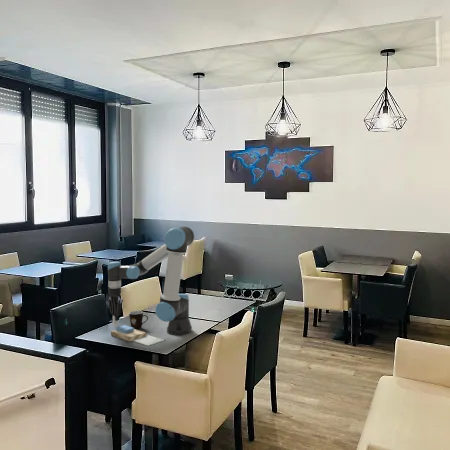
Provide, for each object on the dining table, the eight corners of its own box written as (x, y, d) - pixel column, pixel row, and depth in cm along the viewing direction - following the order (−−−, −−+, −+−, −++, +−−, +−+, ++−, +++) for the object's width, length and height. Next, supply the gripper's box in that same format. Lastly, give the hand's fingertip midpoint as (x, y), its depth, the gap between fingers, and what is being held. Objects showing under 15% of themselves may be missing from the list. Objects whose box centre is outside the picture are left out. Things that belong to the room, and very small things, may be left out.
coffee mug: (126, 328, 278) (126, 312, 277) (137, 325, 284) (137, 310, 284) (138, 332, 270) (137, 315, 269) (149, 328, 276) (148, 313, 276)
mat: (148, 335, 262) (148, 335, 262) (164, 340, 253) (164, 340, 253) (132, 340, 253) (132, 340, 253) (147, 346, 244) (147, 345, 244)
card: (116, 330, 265) (116, 327, 264) (124, 328, 269) (124, 325, 269) (125, 333, 259) (125, 330, 259) (134, 331, 263) (133, 327, 263)
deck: (127, 330, 272) (127, 326, 272) (146, 336, 261) (146, 332, 260) (110, 335, 263) (110, 331, 263) (129, 341, 252) (129, 337, 251)
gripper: (103, 286, 270) (104, 325, 272) (115, 289, 262) (116, 329, 263) (113, 285, 276) (114, 322, 277) (126, 287, 267) (127, 326, 269)
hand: (115, 325), depth 270 cm, fingers closed
